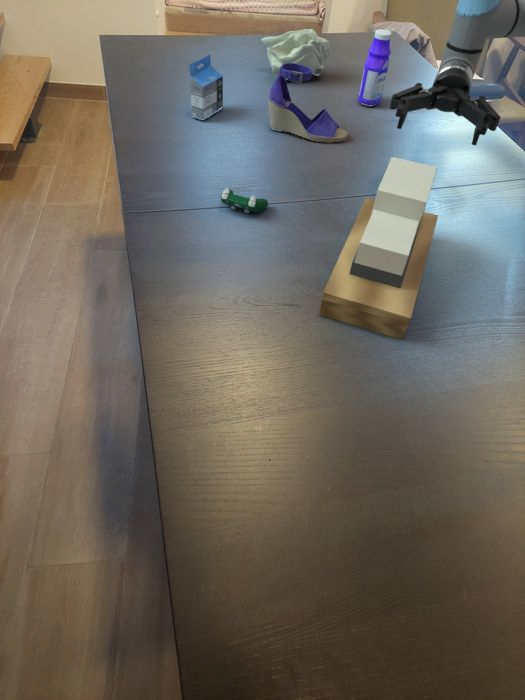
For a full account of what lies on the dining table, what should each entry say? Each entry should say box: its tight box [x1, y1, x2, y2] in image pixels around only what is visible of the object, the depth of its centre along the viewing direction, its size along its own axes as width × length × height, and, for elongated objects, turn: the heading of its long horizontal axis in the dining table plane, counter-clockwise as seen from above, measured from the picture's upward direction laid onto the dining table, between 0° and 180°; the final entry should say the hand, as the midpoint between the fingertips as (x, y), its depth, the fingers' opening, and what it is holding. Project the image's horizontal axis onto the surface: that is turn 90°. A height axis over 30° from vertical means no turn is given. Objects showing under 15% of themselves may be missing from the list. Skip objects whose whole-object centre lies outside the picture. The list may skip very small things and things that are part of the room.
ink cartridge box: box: [188, 54, 224, 119], centre depth 125 cm, size 9×4×12 cm, turn 150°
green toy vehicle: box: [220, 187, 269, 214], centre depth 101 cm, size 9×4×6 cm
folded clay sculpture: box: [260, 28, 332, 79], centre depth 144 cm, size 18×13×16 cm
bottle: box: [357, 28, 393, 105], centre depth 133 cm, size 7×6×17 cm
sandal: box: [268, 63, 349, 144], centre depth 120 cm, size 8×20×15 cm, turn 71°
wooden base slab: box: [318, 196, 439, 341], centre depth 90 cm, size 14×30×5 cm, turn 159°
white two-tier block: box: [349, 156, 438, 288], centre depth 86 cm, size 8×22×10 cm, turn 159°
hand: (438, 129), depth 91 cm, fingers open, 13 cm apart
